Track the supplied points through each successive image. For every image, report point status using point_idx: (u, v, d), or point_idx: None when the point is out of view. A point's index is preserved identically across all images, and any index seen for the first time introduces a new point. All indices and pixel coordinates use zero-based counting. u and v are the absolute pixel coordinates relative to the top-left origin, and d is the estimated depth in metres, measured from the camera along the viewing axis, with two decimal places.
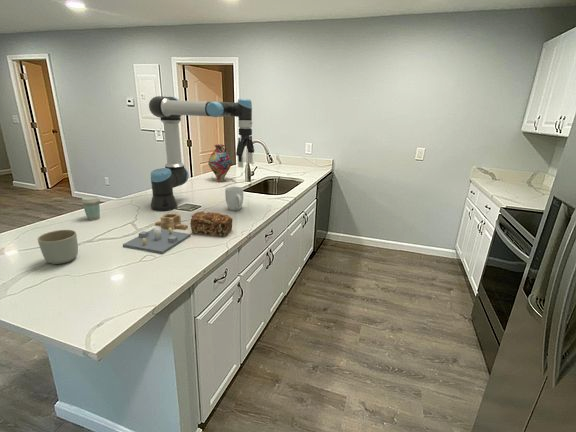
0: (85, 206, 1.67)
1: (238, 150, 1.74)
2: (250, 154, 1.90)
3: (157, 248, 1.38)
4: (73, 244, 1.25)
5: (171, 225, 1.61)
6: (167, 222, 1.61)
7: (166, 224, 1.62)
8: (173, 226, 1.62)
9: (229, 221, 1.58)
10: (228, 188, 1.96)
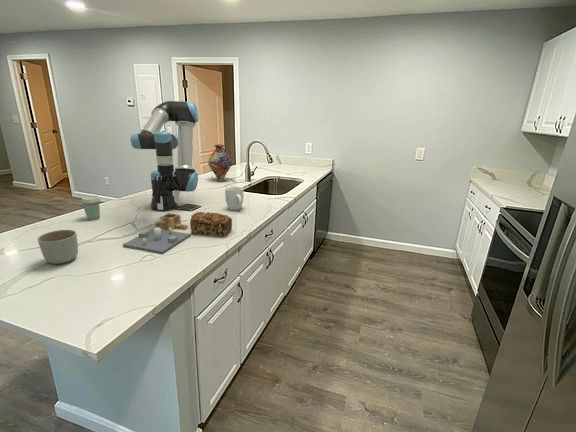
0: (85, 206, 1.67)
1: (155, 191, 1.50)
2: (176, 192, 1.66)
3: (157, 248, 1.38)
4: (73, 244, 1.25)
5: (171, 225, 1.61)
6: (167, 222, 1.61)
7: (166, 224, 1.62)
8: (173, 226, 1.62)
9: (229, 221, 1.58)
10: (228, 188, 1.96)
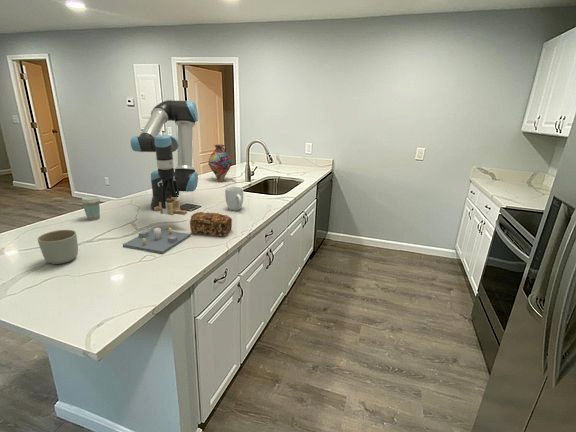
0: (85, 206, 1.67)
1: (159, 197, 1.54)
2: None
3: (157, 248, 1.38)
4: (73, 244, 1.25)
5: (170, 210, 1.59)
6: None
7: None
8: (172, 211, 1.60)
9: (229, 221, 1.58)
10: (228, 188, 1.96)
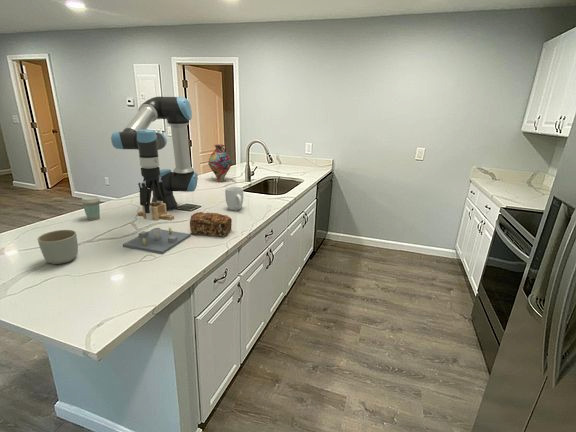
0: (85, 206, 1.67)
1: (142, 200, 1.34)
2: None
3: (157, 248, 1.38)
4: (73, 244, 1.25)
5: (155, 215, 1.39)
6: None
7: None
8: (157, 216, 1.40)
9: (229, 221, 1.58)
10: (228, 188, 1.96)
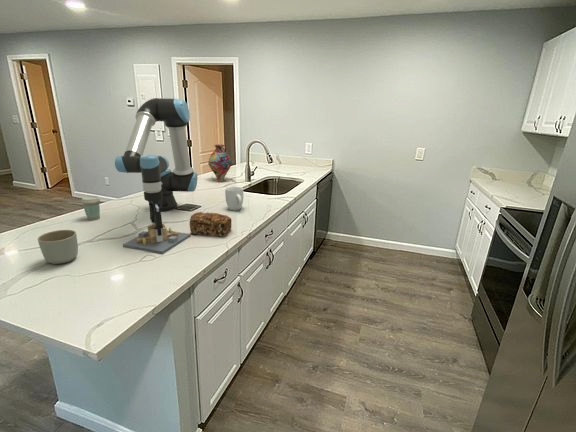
0: (85, 206, 1.67)
1: (159, 223, 1.39)
2: None
3: (157, 248, 1.38)
4: (73, 244, 1.25)
5: (165, 235, 1.45)
6: None
7: None
8: (166, 236, 1.47)
9: (228, 221, 1.58)
10: (228, 188, 1.96)
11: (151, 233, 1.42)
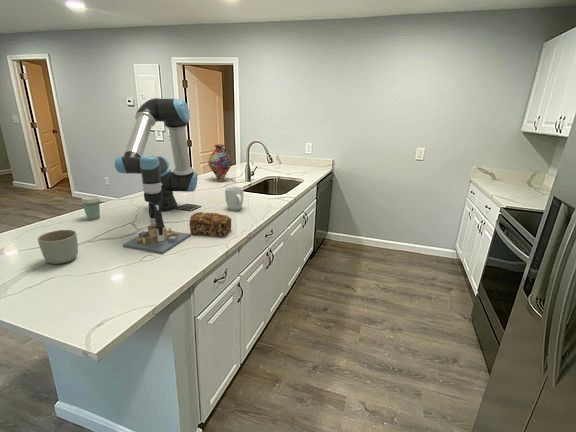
0: (85, 206, 1.67)
1: (160, 222, 1.37)
2: (154, 220, 1.51)
3: (157, 248, 1.38)
4: (73, 244, 1.25)
5: (165, 235, 1.45)
6: None
7: None
8: (166, 236, 1.47)
9: (228, 221, 1.58)
10: (228, 188, 1.96)
11: (151, 233, 1.42)
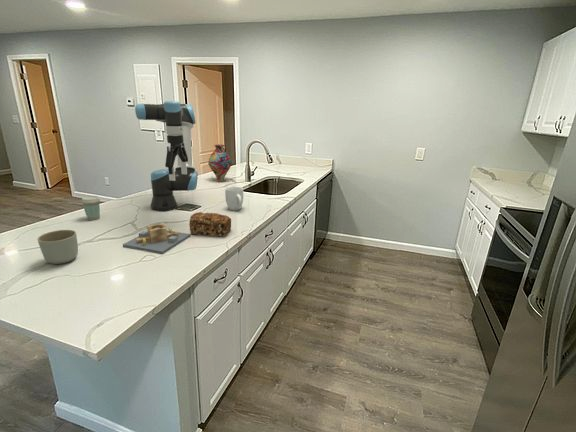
0: (85, 206, 1.67)
1: (167, 161, 1.50)
2: (183, 163, 1.66)
3: (157, 248, 1.38)
4: (73, 244, 1.25)
5: (165, 235, 1.45)
6: (160, 234, 1.44)
7: (159, 237, 1.44)
8: (166, 236, 1.47)
9: (228, 221, 1.58)
10: (228, 188, 1.96)
11: (151, 233, 1.42)
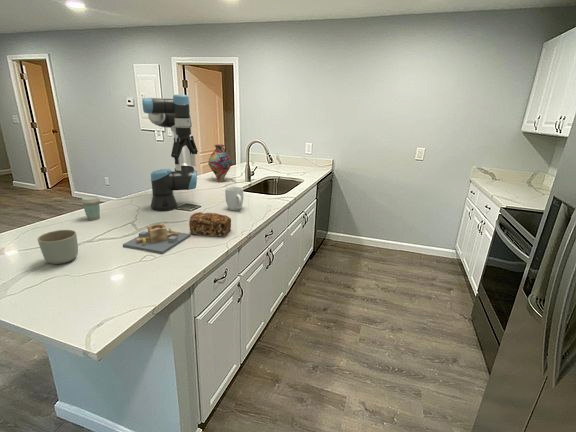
0: (85, 206, 1.67)
1: (173, 151, 1.57)
2: (192, 156, 1.73)
3: (157, 248, 1.38)
4: (73, 244, 1.25)
5: (165, 235, 1.45)
6: (160, 234, 1.44)
7: (159, 237, 1.44)
8: (166, 236, 1.47)
9: (228, 221, 1.58)
10: (228, 188, 1.96)
11: (151, 233, 1.42)
